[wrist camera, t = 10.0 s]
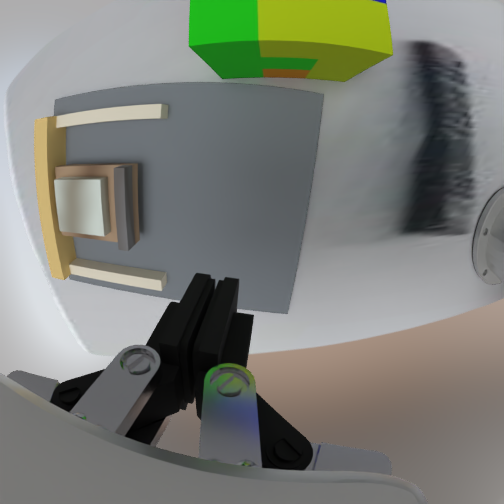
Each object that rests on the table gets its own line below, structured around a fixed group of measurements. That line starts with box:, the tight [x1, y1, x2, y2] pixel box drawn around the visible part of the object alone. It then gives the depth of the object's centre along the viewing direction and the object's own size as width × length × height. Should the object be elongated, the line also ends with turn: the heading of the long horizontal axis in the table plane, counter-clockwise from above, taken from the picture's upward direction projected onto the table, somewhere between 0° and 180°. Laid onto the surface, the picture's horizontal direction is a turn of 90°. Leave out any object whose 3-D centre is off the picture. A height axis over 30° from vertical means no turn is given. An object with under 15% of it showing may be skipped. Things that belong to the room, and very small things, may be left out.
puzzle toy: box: [189, 0, 393, 82], centre depth 12 cm, size 10×10×10 cm
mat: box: [34, 82, 324, 314], centre depth 22 cm, size 26×21×3 cm
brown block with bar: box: [54, 163, 140, 251], centre depth 22 cm, size 9×7×4 cm
